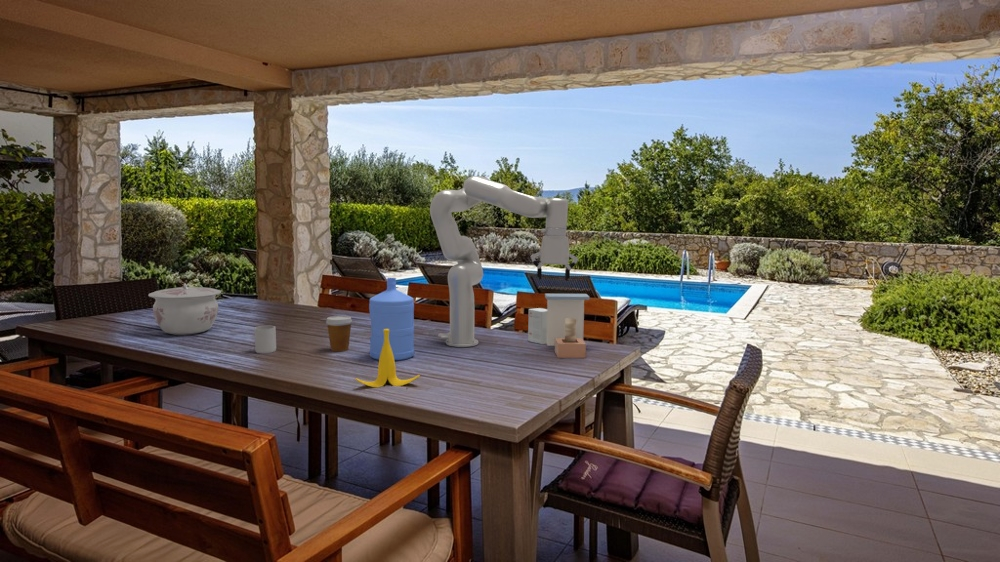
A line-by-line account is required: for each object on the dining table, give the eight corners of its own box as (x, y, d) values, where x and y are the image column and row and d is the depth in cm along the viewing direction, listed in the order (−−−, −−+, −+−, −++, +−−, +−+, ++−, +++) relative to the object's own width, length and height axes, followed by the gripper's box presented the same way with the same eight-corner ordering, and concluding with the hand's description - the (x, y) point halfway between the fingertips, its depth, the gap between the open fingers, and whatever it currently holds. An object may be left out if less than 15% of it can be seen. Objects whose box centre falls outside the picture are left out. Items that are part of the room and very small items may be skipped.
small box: (553, 342, 252) (553, 310, 251) (541, 344, 248) (541, 311, 247) (539, 339, 258) (539, 307, 257) (527, 341, 254) (528, 309, 253)
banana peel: (353, 390, 185) (352, 333, 183) (383, 374, 203) (383, 322, 201) (405, 395, 180) (405, 337, 179) (431, 378, 199) (431, 325, 197)
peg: (565, 352, 230) (565, 320, 228) (563, 350, 233) (564, 318, 232) (576, 353, 230) (577, 320, 228) (574, 350, 234) (575, 318, 232)
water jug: (423, 356, 227) (422, 278, 224) (387, 363, 216) (386, 281, 212) (396, 349, 238) (395, 275, 234) (361, 356, 226) (359, 278, 223)
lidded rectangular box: (545, 349, 239) (546, 296, 237) (544, 344, 247) (545, 293, 245) (588, 349, 240) (589, 296, 237) (585, 345, 248) (586, 293, 245)
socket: (557, 357, 227) (557, 343, 226) (554, 351, 237) (554, 338, 236) (585, 357, 227) (585, 344, 226) (581, 351, 237) (581, 338, 236)
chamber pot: (185, 341, 249) (182, 288, 246) (134, 335, 259) (131, 285, 256) (238, 328, 275) (236, 281, 272) (190, 324, 285) (187, 278, 282)
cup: (251, 353, 229) (250, 329, 228) (264, 347, 239) (263, 324, 238) (271, 353, 228) (270, 329, 227) (282, 347, 238) (282, 324, 237)
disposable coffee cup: (343, 353, 230) (343, 320, 229) (321, 351, 233) (320, 319, 232) (357, 348, 239) (357, 316, 238) (335, 346, 242) (335, 315, 241)
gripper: (532, 232, 225) (530, 280, 227) (581, 234, 225) (578, 282, 228) (531, 231, 232) (528, 277, 235) (578, 233, 233) (575, 279, 235)
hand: (553, 279), depth 231 cm, fingers open, 9 cm apart
